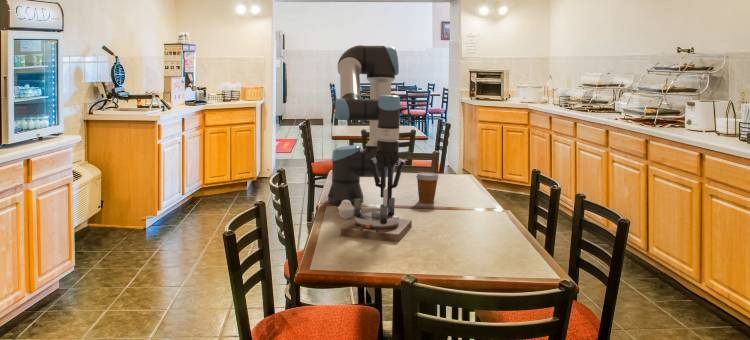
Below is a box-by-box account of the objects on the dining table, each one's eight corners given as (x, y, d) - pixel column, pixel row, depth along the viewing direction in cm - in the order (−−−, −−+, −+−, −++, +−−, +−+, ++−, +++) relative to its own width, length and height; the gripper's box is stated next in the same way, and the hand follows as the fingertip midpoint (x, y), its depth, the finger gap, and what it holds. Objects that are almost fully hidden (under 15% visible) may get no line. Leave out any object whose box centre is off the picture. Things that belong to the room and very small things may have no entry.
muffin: (346, 220, 220) (346, 201, 219) (334, 217, 224) (334, 199, 223) (357, 217, 225) (357, 199, 223) (345, 214, 229) (346, 197, 227)
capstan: (349, 219, 210) (349, 197, 209) (388, 216, 216) (389, 194, 215) (365, 231, 196) (365, 207, 195) (406, 227, 202) (407, 204, 200)
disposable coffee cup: (436, 204, 250) (437, 176, 248) (413, 203, 252) (414, 174, 250) (438, 200, 259) (439, 172, 257) (416, 198, 261) (417, 171, 259)
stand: (340, 235, 200) (340, 226, 199) (358, 221, 219) (358, 212, 218) (398, 241, 195) (398, 232, 194) (411, 226, 214) (411, 217, 213)
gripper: (366, 140, 205) (365, 207, 209) (403, 142, 202) (401, 210, 206) (373, 138, 212) (371, 202, 216) (408, 140, 209) (406, 206, 213)
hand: (385, 206), depth 211 cm, fingers closed
